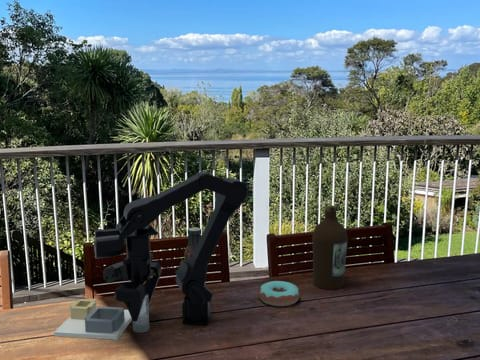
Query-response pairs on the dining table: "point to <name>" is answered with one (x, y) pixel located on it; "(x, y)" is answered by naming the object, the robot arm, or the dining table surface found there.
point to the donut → (279, 293)
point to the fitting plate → (94, 321)
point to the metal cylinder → (142, 318)
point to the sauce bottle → (192, 242)
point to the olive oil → (329, 251)
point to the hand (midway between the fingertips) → (141, 312)
